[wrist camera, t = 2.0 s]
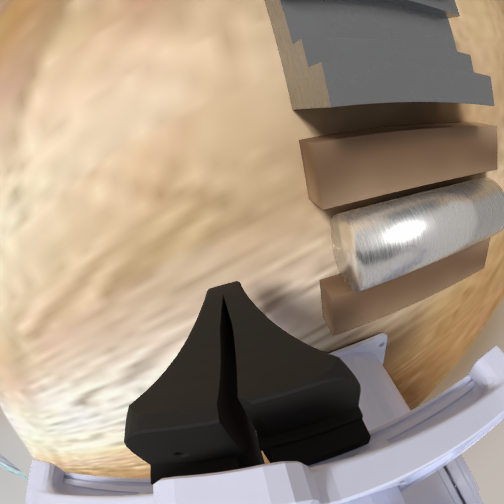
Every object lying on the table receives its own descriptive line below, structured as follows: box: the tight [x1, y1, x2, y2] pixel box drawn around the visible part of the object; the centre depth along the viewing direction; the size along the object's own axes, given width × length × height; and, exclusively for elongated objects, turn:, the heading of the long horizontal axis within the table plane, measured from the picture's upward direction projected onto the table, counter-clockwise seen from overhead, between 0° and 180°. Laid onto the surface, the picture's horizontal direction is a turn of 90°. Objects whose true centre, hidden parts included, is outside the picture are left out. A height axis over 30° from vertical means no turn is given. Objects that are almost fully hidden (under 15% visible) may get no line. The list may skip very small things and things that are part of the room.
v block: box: [265, 0, 494, 110], centre depth 8 cm, size 8×10×4 cm
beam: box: [299, 123, 497, 336], centre depth 15 cm, size 11×14×2 cm
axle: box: [331, 178, 504, 292], centre depth 14 cm, size 12×4×4 cm, turn 103°
